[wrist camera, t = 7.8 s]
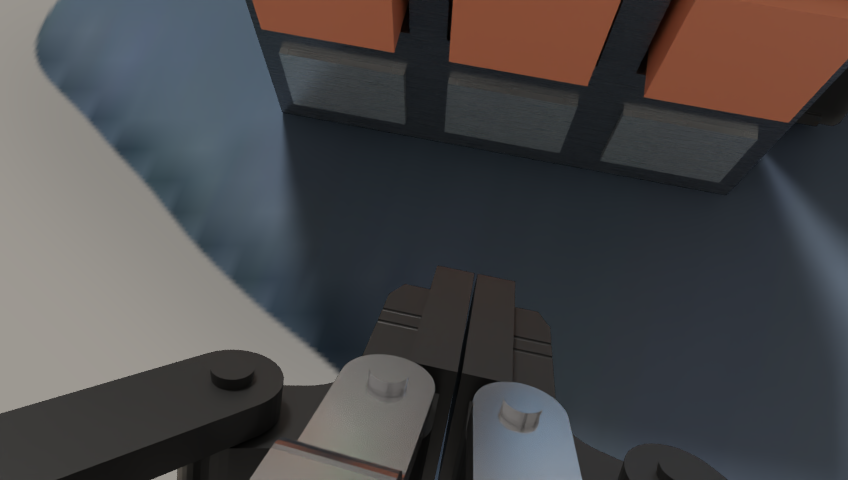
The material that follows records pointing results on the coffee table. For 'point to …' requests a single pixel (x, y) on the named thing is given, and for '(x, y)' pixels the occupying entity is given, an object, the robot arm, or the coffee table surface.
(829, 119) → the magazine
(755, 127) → the dark grey block
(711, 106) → the switch
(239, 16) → the coffee table surface
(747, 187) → the coffee table surface
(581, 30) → the switch
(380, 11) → the switch
